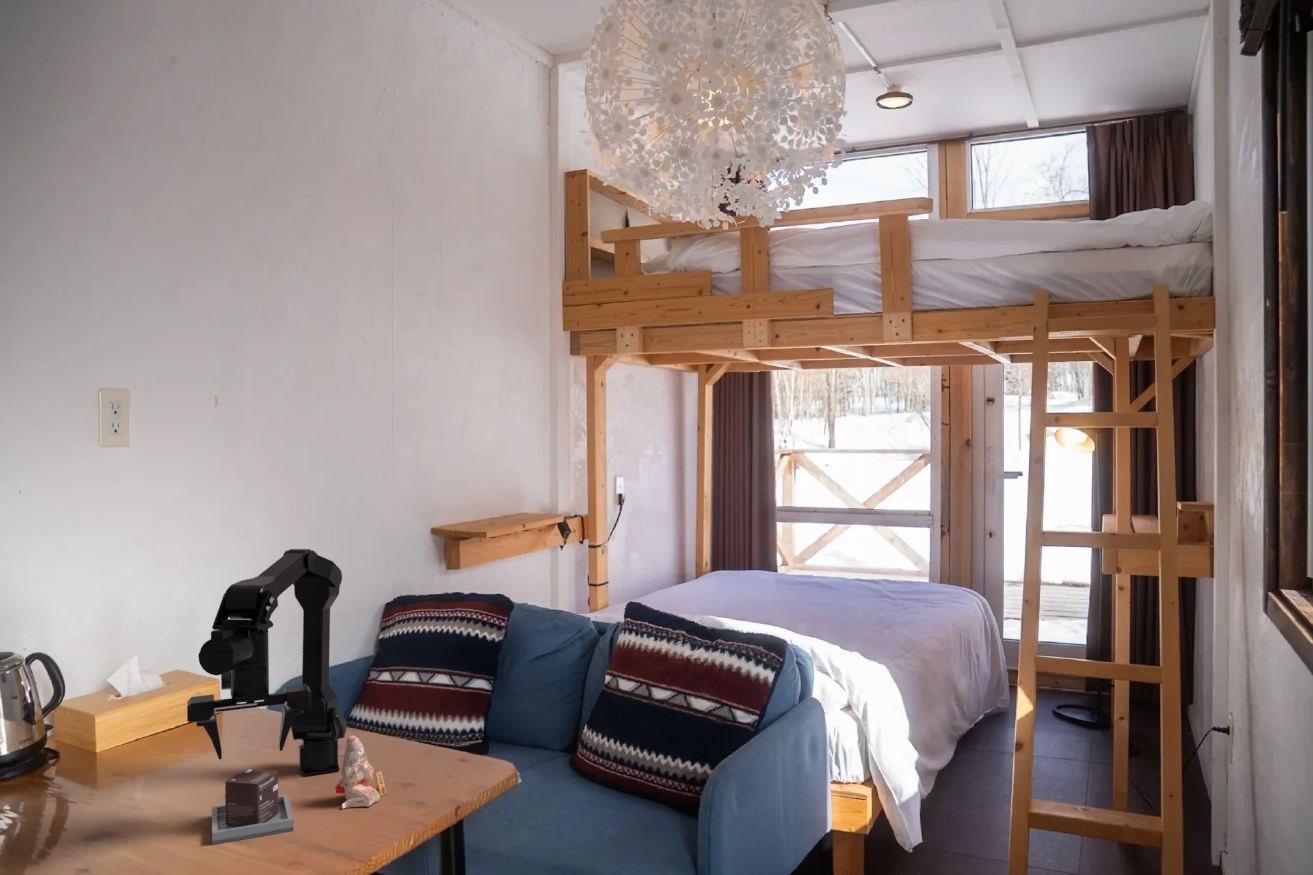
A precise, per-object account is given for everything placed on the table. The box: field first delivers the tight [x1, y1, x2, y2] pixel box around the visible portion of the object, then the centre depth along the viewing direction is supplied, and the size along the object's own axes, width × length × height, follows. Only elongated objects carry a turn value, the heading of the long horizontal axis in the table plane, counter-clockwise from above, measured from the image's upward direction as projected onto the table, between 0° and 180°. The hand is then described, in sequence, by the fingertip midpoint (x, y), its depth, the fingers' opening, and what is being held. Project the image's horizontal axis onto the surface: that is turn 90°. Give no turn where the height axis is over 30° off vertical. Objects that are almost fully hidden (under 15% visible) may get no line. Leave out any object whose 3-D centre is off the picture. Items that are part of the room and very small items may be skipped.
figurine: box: [334, 735, 387, 809], centre depth 167 cm, size 9×7×12 cm
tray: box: [211, 793, 295, 846], centre depth 158 cm, size 12×12×2 cm
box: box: [224, 769, 279, 826], centre depth 158 cm, size 6×6×7 cm
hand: (250, 754), depth 157 cm, fingers open, 9 cm apart
